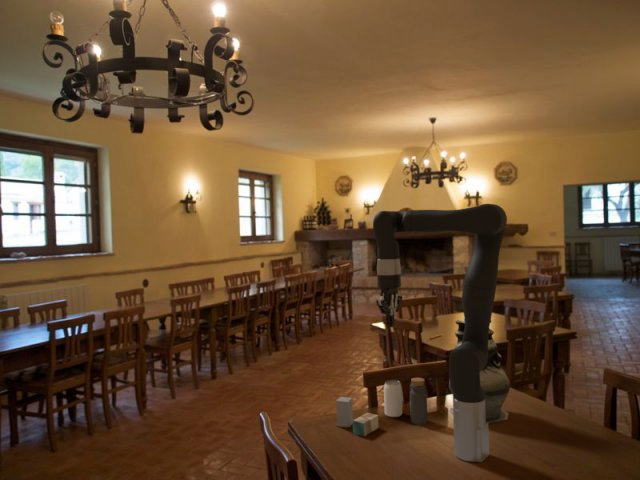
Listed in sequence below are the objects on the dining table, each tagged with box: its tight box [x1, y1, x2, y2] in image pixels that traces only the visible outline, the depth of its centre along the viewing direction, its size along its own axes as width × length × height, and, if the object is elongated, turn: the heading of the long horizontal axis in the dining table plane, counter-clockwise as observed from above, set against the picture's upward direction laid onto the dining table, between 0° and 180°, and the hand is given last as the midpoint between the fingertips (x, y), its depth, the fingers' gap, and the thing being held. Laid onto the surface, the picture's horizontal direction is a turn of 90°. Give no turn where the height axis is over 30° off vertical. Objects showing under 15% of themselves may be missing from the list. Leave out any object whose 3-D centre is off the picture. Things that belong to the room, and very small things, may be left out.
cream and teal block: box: [352, 412, 379, 438], centre depth 169 cm, size 4×4×9 cm
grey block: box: [335, 396, 354, 428], centre depth 175 cm, size 4×4×9 cm
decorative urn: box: [448, 318, 511, 424], centre depth 180 cm, size 21×21×35 cm
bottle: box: [409, 377, 428, 426], centre depth 176 cm, size 6×6×15 cm
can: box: [383, 379, 403, 418], centre depth 184 cm, size 6×6×12 cm
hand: (390, 326), depth 160 cm, fingers closed
